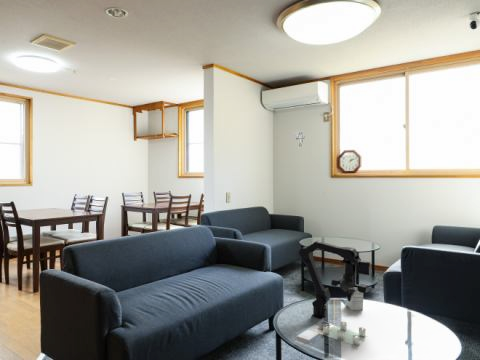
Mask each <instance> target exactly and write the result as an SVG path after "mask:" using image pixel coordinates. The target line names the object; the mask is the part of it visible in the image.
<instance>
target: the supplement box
mask: <svg viewBox="0 0 480 360" xmlns="http://www.w3.org/2000/svg"><path fill="white" fill-rule="evenodd" d="M350 289H351V288H350ZM345 303H346V305H345V306H347V307H348V308H349V309H350V310H351V311H362V310H361V309H364V293H361V292H359V291H358V290H357V291H355V293H354V294H353V297H352V299H351V301H350V302H349V301H348V299H347V298H346V302H345Z"/></svg>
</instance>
